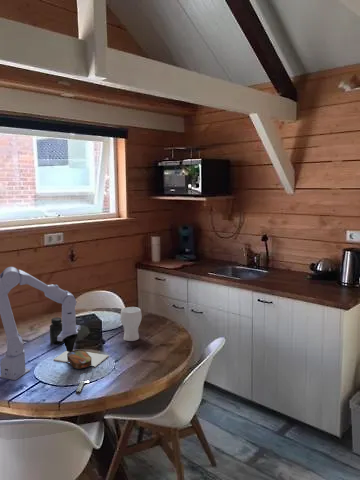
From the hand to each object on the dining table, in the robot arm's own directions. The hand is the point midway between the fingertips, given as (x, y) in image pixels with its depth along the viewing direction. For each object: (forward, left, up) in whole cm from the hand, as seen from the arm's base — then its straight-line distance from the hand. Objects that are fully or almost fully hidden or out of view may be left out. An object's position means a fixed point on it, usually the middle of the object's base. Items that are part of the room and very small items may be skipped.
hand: (69, 351), depth 182 cm
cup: (+36, -12, -6) cm, 38 cm away
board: (+6, -2, -6) cm, 9 cm away
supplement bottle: (+19, +20, -6) cm, 28 cm away
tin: (-1, 0, -4) cm, 5 cm away
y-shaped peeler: (-12, -14, -6) cm, 19 cm away
